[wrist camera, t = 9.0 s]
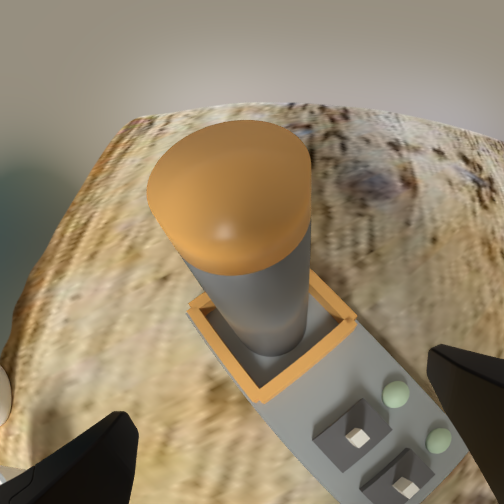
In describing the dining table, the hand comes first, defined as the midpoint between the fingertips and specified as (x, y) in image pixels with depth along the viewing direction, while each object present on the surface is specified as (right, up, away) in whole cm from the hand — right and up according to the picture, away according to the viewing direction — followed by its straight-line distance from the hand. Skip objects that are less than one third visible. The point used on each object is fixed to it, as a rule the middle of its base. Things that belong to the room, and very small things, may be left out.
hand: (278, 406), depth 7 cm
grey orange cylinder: (+1, -1, +13) cm, 13 cm away
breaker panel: (+5, -5, +11) cm, 13 cm away
